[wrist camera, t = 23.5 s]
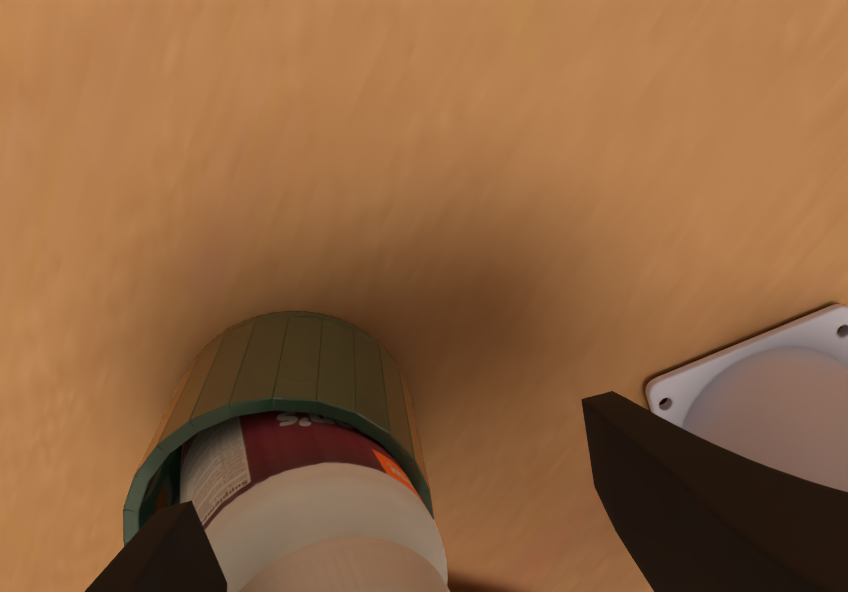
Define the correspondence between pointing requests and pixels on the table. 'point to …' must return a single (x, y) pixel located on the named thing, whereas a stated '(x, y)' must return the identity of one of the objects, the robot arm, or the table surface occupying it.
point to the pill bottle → (309, 508)
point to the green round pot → (281, 397)
